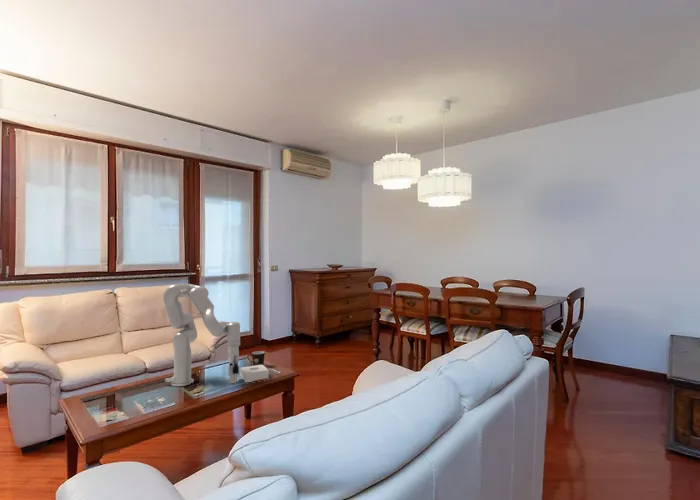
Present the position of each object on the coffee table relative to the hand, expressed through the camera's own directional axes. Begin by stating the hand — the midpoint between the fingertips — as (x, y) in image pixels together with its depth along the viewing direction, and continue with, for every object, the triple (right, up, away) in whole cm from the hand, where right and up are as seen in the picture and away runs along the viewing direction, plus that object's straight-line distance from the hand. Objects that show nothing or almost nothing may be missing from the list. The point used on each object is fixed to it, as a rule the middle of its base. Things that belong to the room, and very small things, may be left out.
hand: (233, 371), depth 218 cm
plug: (0, -7, 0) cm, 7 cm away
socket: (+10, -7, +8) cm, 15 cm away
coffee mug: (+5, -8, +33) cm, 35 cm away
